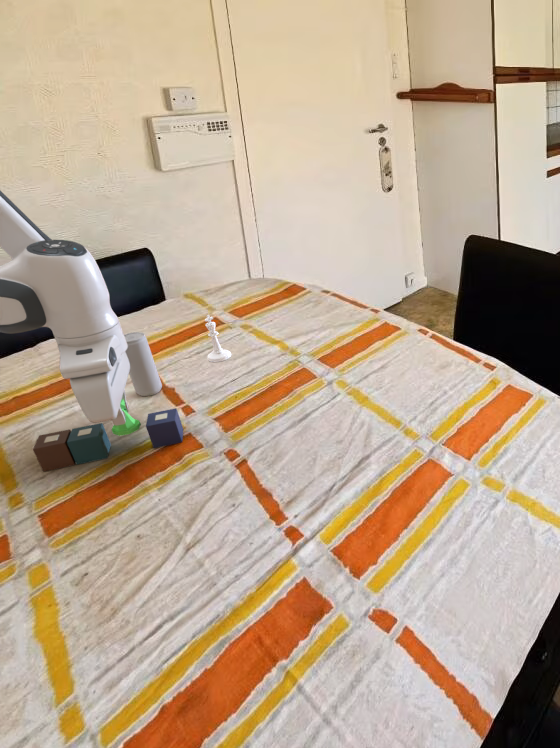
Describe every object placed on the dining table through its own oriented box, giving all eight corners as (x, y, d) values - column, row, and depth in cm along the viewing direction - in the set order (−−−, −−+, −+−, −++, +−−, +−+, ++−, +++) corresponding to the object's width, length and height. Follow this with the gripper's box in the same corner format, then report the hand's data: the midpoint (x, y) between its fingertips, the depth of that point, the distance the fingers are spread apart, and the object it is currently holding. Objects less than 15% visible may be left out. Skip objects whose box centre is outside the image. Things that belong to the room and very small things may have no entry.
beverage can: (159, 383, 128) (141, 329, 122) (166, 391, 125) (147, 337, 119) (134, 390, 125) (114, 336, 120) (139, 399, 122) (119, 344, 116)
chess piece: (236, 355, 139) (225, 313, 134) (217, 363, 135) (205, 321, 130) (222, 350, 141) (210, 309, 136) (202, 359, 137) (190, 317, 133)
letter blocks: (43, 472, 102) (32, 448, 99) (49, 457, 105) (38, 434, 103) (182, 442, 108) (174, 419, 106) (183, 429, 112) (176, 407, 110)
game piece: (146, 422, 108) (135, 392, 105) (131, 436, 104) (119, 405, 101) (123, 421, 108) (111, 391, 105) (106, 435, 105) (94, 404, 102)
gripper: (82, 323, 106) (109, 394, 112) (56, 374, 89) (90, 454, 96) (123, 317, 108) (148, 387, 114) (106, 366, 91) (136, 444, 98)
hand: (122, 418), depth 105 cm, fingers closed on game piece, 2 cm apart
